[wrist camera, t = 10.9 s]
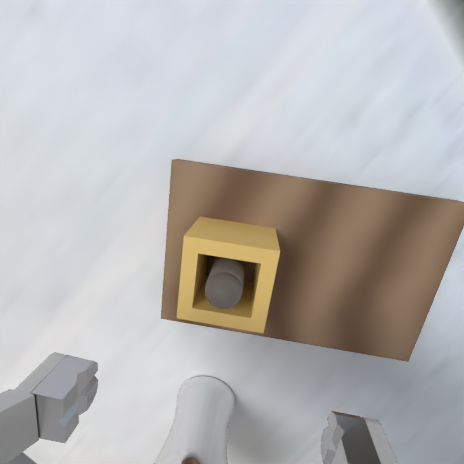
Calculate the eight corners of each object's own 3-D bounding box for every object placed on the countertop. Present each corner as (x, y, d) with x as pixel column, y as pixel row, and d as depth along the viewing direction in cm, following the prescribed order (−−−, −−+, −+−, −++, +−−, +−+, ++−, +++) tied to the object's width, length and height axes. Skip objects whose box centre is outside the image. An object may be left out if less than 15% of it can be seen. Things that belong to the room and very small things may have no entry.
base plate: (458, 200, 21) (571, 231, 14) (399, 349, 26) (461, 437, 18) (177, 158, 22) (134, 165, 15) (166, 309, 27) (128, 375, 19)
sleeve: (275, 228, 22) (280, 251, 17) (262, 295, 24) (263, 333, 19) (199, 216, 22) (183, 235, 17) (192, 283, 24) (176, 318, 19)
